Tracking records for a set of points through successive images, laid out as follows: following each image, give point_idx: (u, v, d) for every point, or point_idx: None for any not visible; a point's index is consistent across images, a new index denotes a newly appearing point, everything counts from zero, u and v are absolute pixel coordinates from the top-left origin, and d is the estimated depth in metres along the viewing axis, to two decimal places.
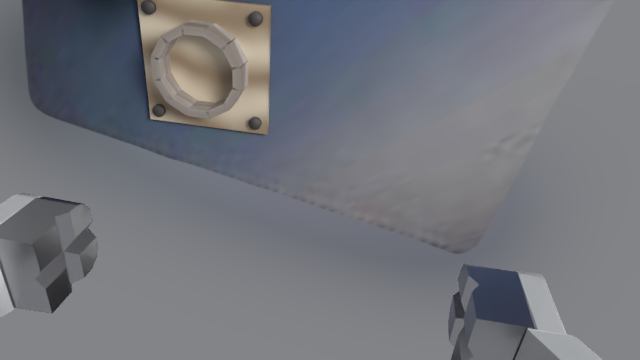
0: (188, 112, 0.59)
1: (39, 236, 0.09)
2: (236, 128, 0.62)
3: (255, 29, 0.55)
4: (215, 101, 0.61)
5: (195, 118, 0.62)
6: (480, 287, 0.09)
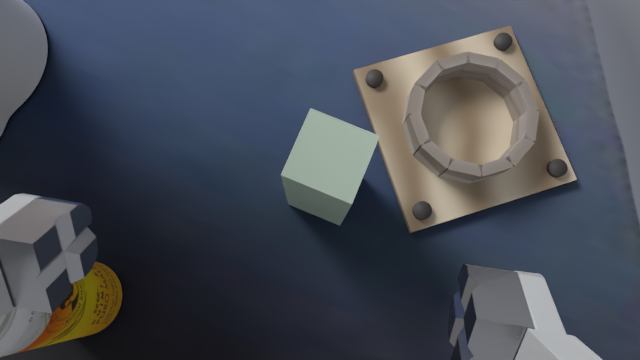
0: (533, 109, 0.41)
1: (39, 236, 0.09)
2: (523, 63, 0.45)
3: (387, 77, 0.44)
4: (501, 99, 0.44)
5: (541, 119, 0.44)
6: (480, 287, 0.09)
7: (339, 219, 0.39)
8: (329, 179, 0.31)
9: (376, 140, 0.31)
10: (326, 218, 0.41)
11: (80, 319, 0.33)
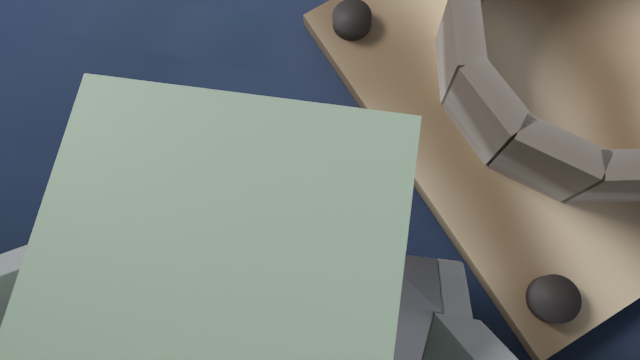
0: None
1: None
2: None
3: (379, 11, 0.20)
4: None
5: None
6: None
7: None
8: None
9: (412, 140, 0.06)
10: None
11: None
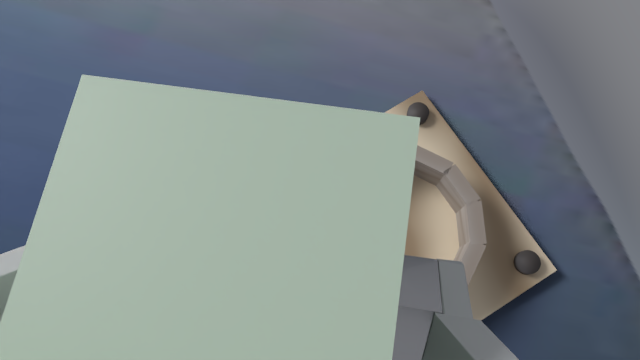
0: (473, 200, 0.31)
1: None
2: (450, 134, 0.35)
3: None
4: (434, 187, 0.34)
5: (490, 200, 0.34)
6: None
7: None
8: None
9: (410, 142, 0.06)
10: None
11: None
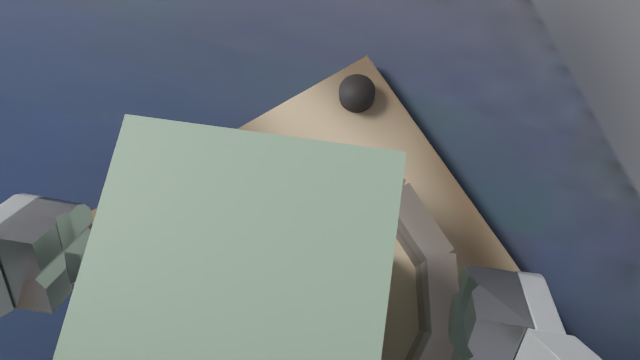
0: (440, 252, 0.16)
1: (39, 236, 0.09)
2: (411, 128, 0.21)
3: None
4: None
5: (477, 245, 0.19)
6: (480, 287, 0.09)
7: None
8: None
9: (398, 172, 0.08)
10: None
11: None
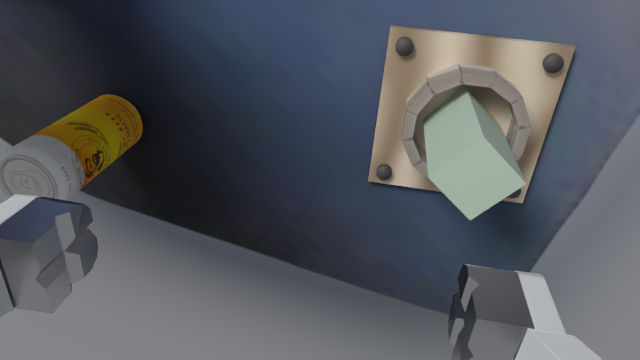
0: (517, 153, 0.43)
1: (39, 236, 0.09)
2: (556, 92, 0.43)
3: (418, 48, 0.43)
4: (510, 115, 0.45)
5: (531, 147, 0.46)
6: (480, 287, 0.09)
7: None
8: (464, 197, 0.36)
9: (521, 186, 0.35)
10: None
11: (105, 167, 0.47)
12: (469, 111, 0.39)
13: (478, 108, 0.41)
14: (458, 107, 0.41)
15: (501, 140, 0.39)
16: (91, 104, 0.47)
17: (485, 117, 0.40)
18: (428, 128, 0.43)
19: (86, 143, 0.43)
